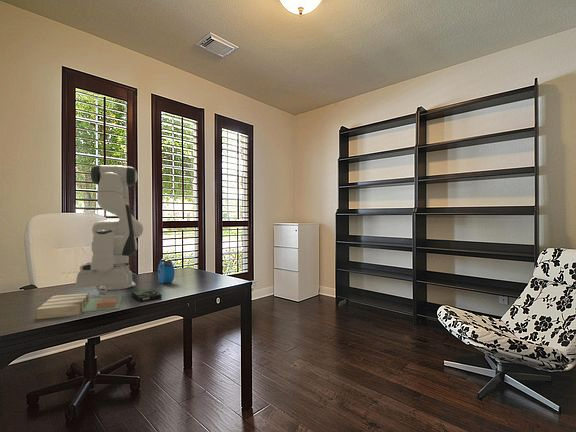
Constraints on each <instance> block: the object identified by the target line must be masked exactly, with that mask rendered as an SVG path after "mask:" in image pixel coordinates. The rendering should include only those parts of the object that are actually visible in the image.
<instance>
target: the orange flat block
mask: <svg viewBox="0 0 576 432" xmlns="http://www.w3.org/2000/svg"><path fill="white" fill-rule="evenodd" d="M108 297H109V298H105V297H99V298H100V299H99V301H98V303H97V308H106V307H115V305H116V302H117V296H108Z"/></svg>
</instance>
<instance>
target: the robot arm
mask: <svg viewBox="0 0 576 432" xmlns="http://www.w3.org/2000/svg"><path fill="white" fill-rule="evenodd" d="M138 174H139V173H138V171H137V169H136V168H135V167H132V166H125V165H118V164H114V165H111V164H110V165H108V164H105V165H104V164H103V165H102V164H97V165H93V166H92V167H91V169H90V173H89V176H90V180H91V182H92V183H94V184H95V185H97V194H96V195H97V197H96V199H97V200H96V201H97V204H98V206H99V207H100V208H101V209H103V211H106V212H108V213H110V214H112V215H114V216H116V217H117V218H118V219H106V220H105V219H104V220H98V221H95V222H94V224H93V225H92V228H91V232H92V234H93V237H92V242H91V252H92V256H91V257H92V258H91V261H89V262H86V263H83V264H82V265H80V266H79V271H78V273H77V275H76V280H75V286H76V287H77V288H87V287H88V288H89V287H90V288H91V287H95V289H96V290H97V292H98V296H107V295H108V294H107V293H108V292H107V291H115V290H124V289H129V288H131V287H136V285H137V284H136V283H135V282H134V281H133V272H132V271H131V270H130V266H131V265H130V262H129V261H130V259H129V257H130V256H132V255H134V254H135V253H136V252H137V250H138V241H137V238H140V237H141V236H142V234H143V232H144V227H143V224H142V223H141V222H140V221H139V220H138V219H136V218H135V217H134V216H133V214H132V211H131V208H130V197H129V195H130V194H129V188H131V187H132V186H135V185H136V184H137V181H138V178H139V177H138V176H139V175H138Z"/></svg>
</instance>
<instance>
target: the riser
mask: <svg viewBox="0 0 576 432" xmlns="http://www.w3.org/2000/svg"><path fill="white" fill-rule="evenodd" d="M89 297H90V293H89V292H85V293H84V292H83V293H71V294H62V295H60V294H59V295H52V296H51V297H50V298H49V299H48V300H46V301H45V302H44V303H42V304H41V305H40V306H39V307H38V308H36V320H44V319H51V318H53V319H55V318H62V317H63V318H64V317H73V316H80V315H81V314H82V313H81V311H82V309H83V308H84V307H85V305H86V304H87V302H88V301H89V299H90V298H89Z"/></svg>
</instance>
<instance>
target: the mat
mask: <svg viewBox="0 0 576 432" xmlns="http://www.w3.org/2000/svg"><path fill="white" fill-rule="evenodd" d="M109 297H110V296H105V297H104V298H109ZM116 297H117V302H116V305H115V307H106V308H97V303H98V301H99V299H100V298H101V297H97V298H89V301H88V302H87V304H86V305H85V307H84V308H83V309H82V311H81V313H80V314H82V313H88V312H89V313H90V312H91V313H92V312H102V311H109V310H110V311H111V310H119V309H120V306H121V303H122V299H123V295H118V296H117V295H116Z"/></svg>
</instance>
